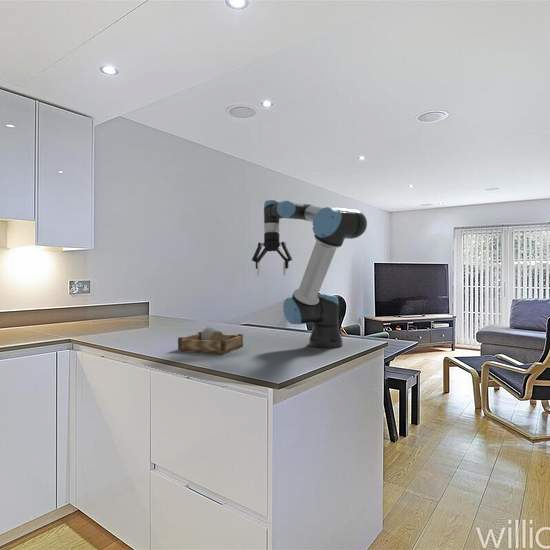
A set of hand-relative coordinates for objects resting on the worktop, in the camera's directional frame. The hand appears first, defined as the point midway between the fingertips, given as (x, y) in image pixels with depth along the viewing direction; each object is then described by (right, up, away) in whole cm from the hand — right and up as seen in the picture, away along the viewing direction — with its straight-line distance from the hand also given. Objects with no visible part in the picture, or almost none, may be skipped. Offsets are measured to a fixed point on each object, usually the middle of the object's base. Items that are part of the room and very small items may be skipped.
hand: (271, 275), depth 195 cm
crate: (-26, -32, -22) cm, 47 cm away
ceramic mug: (-25, -31, -21) cm, 45 cm away
